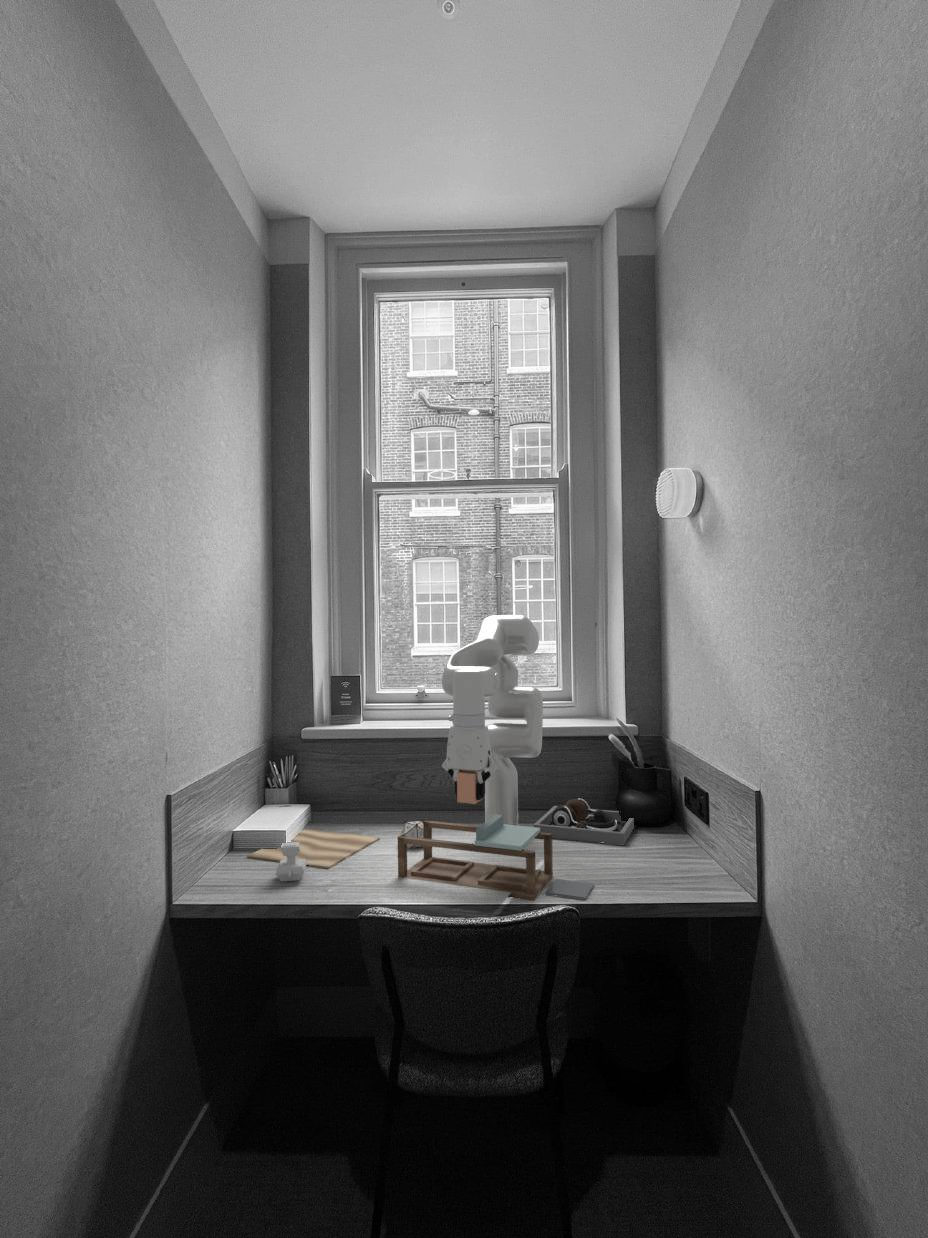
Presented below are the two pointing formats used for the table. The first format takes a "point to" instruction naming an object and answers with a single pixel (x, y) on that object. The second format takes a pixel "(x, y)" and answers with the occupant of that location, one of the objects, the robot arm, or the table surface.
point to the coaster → (570, 889)
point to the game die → (413, 831)
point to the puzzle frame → (476, 864)
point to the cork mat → (320, 848)
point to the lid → (504, 834)
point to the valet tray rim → (586, 834)
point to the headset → (582, 816)
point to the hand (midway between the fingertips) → (470, 797)
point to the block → (467, 787)
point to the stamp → (291, 863)
